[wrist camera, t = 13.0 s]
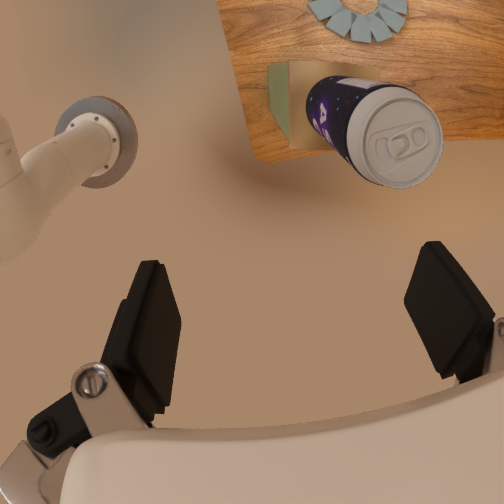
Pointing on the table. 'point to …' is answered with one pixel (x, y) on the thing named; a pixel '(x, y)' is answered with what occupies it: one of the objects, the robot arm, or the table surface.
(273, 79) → the stand
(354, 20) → the trivet
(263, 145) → the table surface
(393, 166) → the beverage can
